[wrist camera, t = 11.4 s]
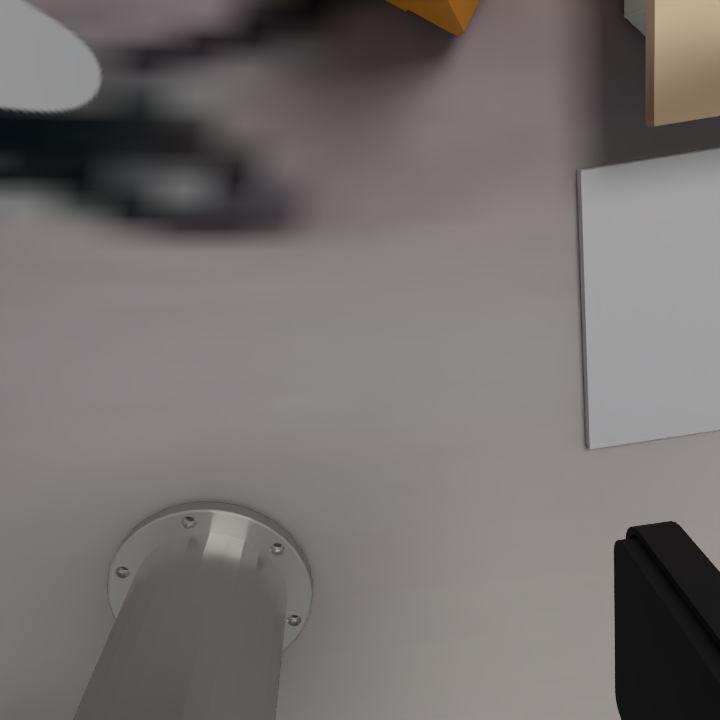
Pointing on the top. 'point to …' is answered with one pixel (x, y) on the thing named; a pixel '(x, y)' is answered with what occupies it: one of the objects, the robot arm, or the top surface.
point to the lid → (682, 60)
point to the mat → (650, 297)
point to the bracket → (442, 12)
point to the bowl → (636, 14)
